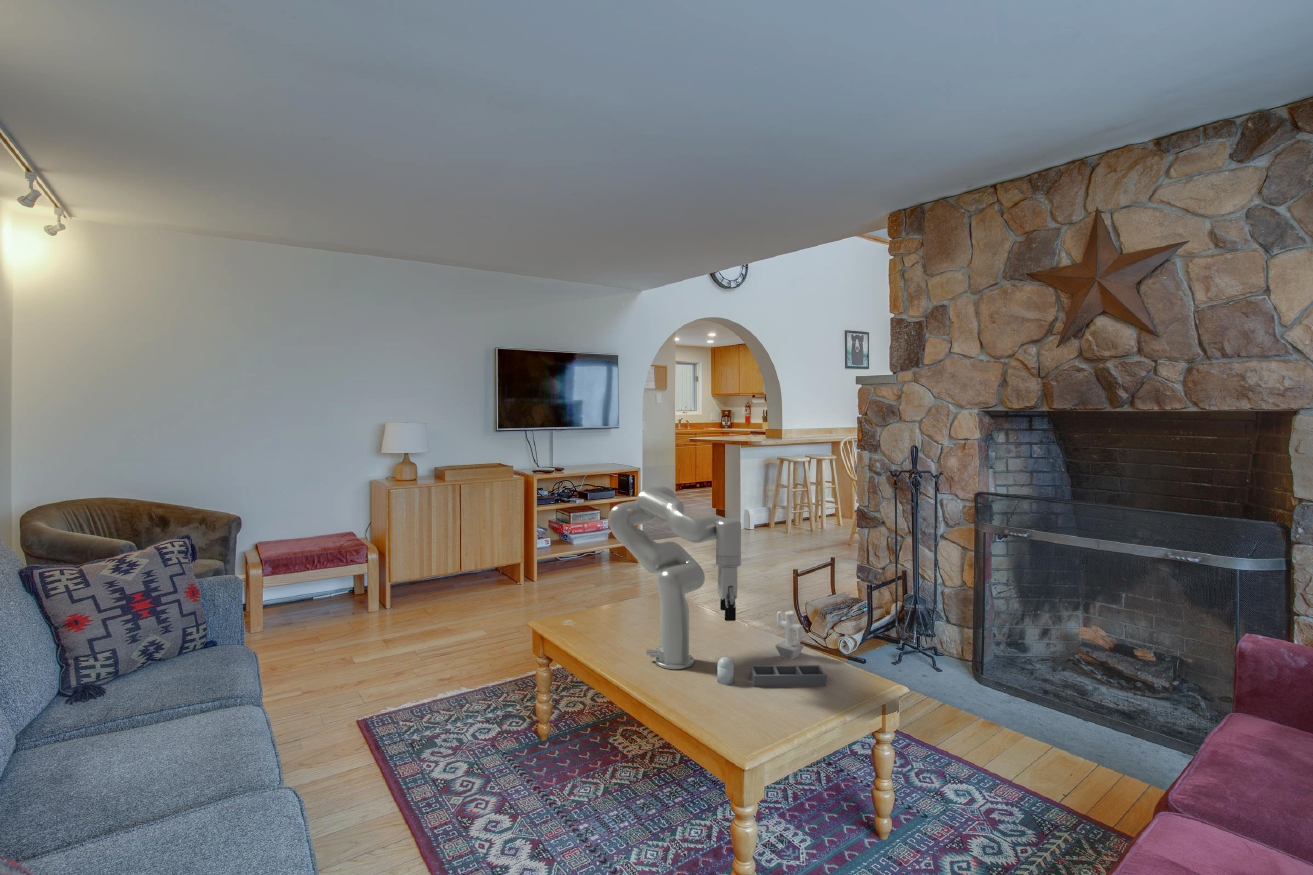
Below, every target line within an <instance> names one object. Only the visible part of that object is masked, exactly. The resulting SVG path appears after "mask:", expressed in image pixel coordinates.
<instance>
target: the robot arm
mask: <svg viewBox="0 0 1313 875" xmlns="http://www.w3.org/2000/svg"><path fill="white" fill-rule="evenodd" d="M684 513H685V505H684V503H683V501H682V500H679V499H677V497H676V494H675V492H674V491H673V490H672V488H669V487H667V486H657V487H656V486H655V487H649V488H645V489H643V490H641V491H640V492H639V493H638V494H637V496H636V500H634V501H627V502H622V503H618V504H616V505H614V506H613V507H612V508H611V510H610V511H609V512H608V525H609V529H610V531H611V533H612V535H613V537H614V538H615V539H616V540H617V541H618V542H619V543H621V545H623V546H624V547H625V549H627V550H628V551H629V553H630V554H631V555H632V556H633V557H634V558H635V559H636V560H637V561H638V563H640V565H642V567H643V568H644V569H645V570H646V571H647V572H649V573H650V574H658V577H657V579H656V585H657V593H658V596H659V611H660V612H659V613H660V614H659V616H660V623H659V629H660V630H659V635H660V636H659V637H660V640H659V645H658V648H657V647H656V648H655V649H652V648H649V649H646V656H649V658H655V663H656V665H657V666H658V667H661V668H663V669H668V670H683V669H687V668H689V667H691V666H693V665H694V663H695V658H694V656H692V655H691V654H690V607H689V603H688V601H687V599H686V597H685V595H686V594H688V593H691V592H695V591H698V590H699V589H701V588H702V587H703V585H704V584H705V579H706V577H705V572H704V570H703V568H702V566H701V565H700V564H699V563H698V562H697V561H696V559H694V558H693V556H692V555H691V554H689V553H688V551H687V550H686V549H685V548H684V547H683V546H681V545H680V544H678V543H677V542H675V541H664V542H656V541H655V540H654V539H653V538H652V537H651V536H650V534H648V533H647V532H646V531H644V530H642V529H640V528H638V527H636V526H639V525H644V524H648V523H651V522H653V521H654V520H659V521H661V522H664V523H666V524H667V526H668V527H669V529H670V530H671V532H672V533H674V535H676V536H678V537H680V538H682V539H683V540H685V541H688V542H691V543H697V544H699V543H704V542H707V541H712V540H715V565H716V566H718V568H717V569H718V570H717V585H716V586H717V587H716V588H717V594H718V596H719V598H720V600H719V601H720V605H719V606H720V607H719V609H720V611H724V621H725V622H736V620H737V619H736V618H737V617H736V616H737V607H736V599H738V568H739V567H740V566H741V565H742V523H741V521H740V520H739V519H736V518H727V517H724V516H720V515H718V514H710V515H709V514H708V515H703V516H700V517H693V516H690V515H687V514H684Z"/></svg>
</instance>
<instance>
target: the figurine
mask: <svg viewBox="0 0 1313 875" xmlns="http://www.w3.org/2000/svg"><path fill="white" fill-rule="evenodd" d="M783 616H784V614H783V611H782V610H778V611H777V612H776V625H777V627H778V628H780V629H784V630H785V639H784V640H783V641H781V642H779V643H776V644H775V645H774V647H775V649H776V650H777V652H778V653H779V655H780V657H783V658H787V659H790V660H793V659H795V658H797V657H799V656H800V654H801V652H802V650H803V649H804V648H805V644H803V643H799V642H802V641H803V639H804V626H803V625H802V624H800V623H796V622H795V620H796V618H795V612H794V611H792V610H788V611H786V612H785V620H784V617H783ZM795 633H796V640H797V641H798V642H796V641H795Z"/></svg>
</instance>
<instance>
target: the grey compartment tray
mask: <svg viewBox="0 0 1313 875" xmlns="http://www.w3.org/2000/svg"><path fill="white" fill-rule="evenodd" d="M749 677H750V679H751V682H752V685H753V687H754V688H755V687H759V688H760V687H766V688H767V687H773V688H774V687H827V681H828V680H827V674H826V673H825V671H824V669H823V668H822V666H821V665H820V664H808V665H807V664H800V665H799V664H797V665H796V664H794V665H792V664H791V665H790V664H785V665H782V664H781V665H779V664H778V665H777V664H776V665H775V664H773V665H771V664H769V665H765V664H764V665H763V664H762V665H761V664H758V665H757V664H756V665H755V664H754V665H749Z"/></svg>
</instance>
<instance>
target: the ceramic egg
mask: <svg viewBox="0 0 1313 875" xmlns="http://www.w3.org/2000/svg"><path fill="white" fill-rule="evenodd" d="M716 671H717V673H716V674H717V675H716V676H717V677H716V678H717V683H718V684H720V685H723V686H729V685H730V686H731V685H732V684H734V683H735V664H734V661H733V660H732V658H730V657H728V656H722V657H721V658H720V659H718V661H717V670H716Z"/></svg>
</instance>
